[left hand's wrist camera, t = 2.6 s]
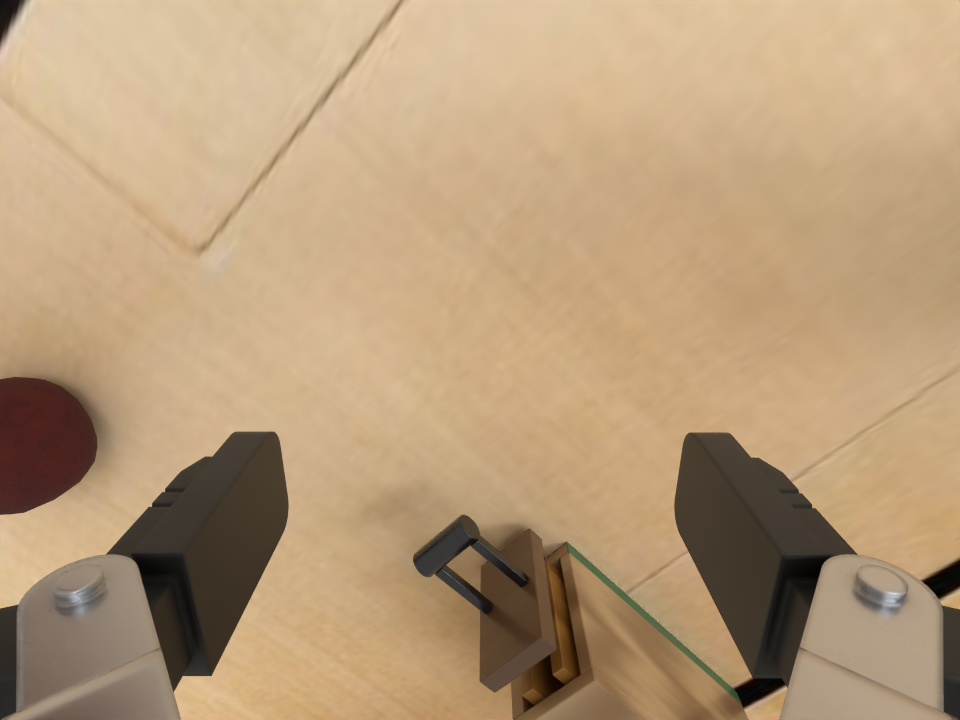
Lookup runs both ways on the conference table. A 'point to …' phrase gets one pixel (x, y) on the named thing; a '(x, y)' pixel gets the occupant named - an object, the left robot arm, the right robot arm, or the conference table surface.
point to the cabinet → (625, 661)
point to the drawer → (511, 609)
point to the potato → (41, 443)
